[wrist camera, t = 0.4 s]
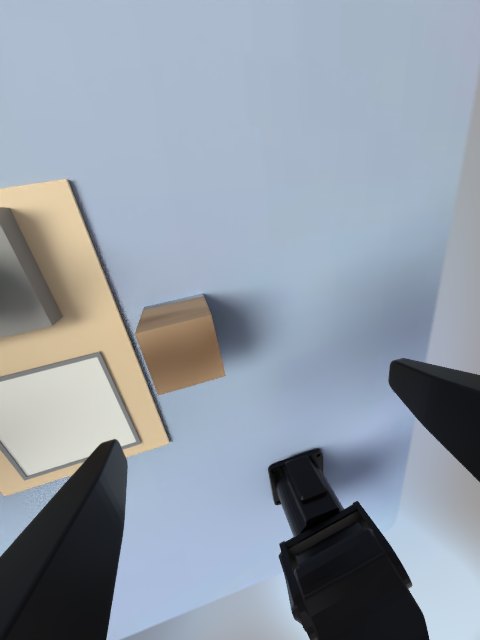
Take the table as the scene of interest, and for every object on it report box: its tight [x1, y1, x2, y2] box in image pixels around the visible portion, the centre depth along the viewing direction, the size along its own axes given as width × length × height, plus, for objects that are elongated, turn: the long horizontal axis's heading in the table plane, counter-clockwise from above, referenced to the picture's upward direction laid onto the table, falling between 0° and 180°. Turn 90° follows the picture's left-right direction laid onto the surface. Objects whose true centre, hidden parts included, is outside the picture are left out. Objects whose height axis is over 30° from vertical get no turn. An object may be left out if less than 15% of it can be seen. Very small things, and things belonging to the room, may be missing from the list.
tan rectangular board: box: [0, 179, 170, 497], centre depth 18 cm, size 22×14×1 cm, turn 10°
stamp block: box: [135, 294, 226, 395], centre depth 18 cm, size 4×4×5 cm
